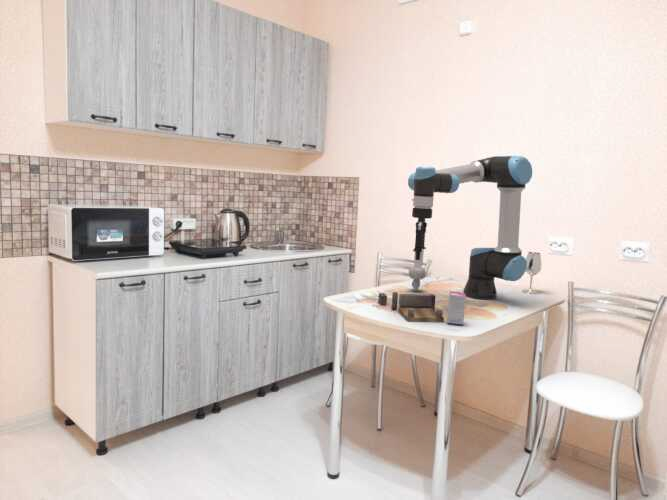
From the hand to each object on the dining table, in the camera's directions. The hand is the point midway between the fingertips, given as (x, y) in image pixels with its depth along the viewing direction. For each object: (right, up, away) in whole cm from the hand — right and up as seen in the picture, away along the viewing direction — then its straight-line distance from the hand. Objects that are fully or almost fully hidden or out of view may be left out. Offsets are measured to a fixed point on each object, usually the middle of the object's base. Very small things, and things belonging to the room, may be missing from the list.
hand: (418, 266), depth 197 cm
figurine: (+6, -13, +44) cm, 47 cm away
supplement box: (+12, -21, -8) cm, 26 cm away
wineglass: (+65, -15, +56) cm, 87 cm away
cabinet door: (-1, -19, +1) cm, 19 cm away
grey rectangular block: (+1, -18, +9) cm, 20 cm away
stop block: (-12, -16, +16) cm, 26 cm away
